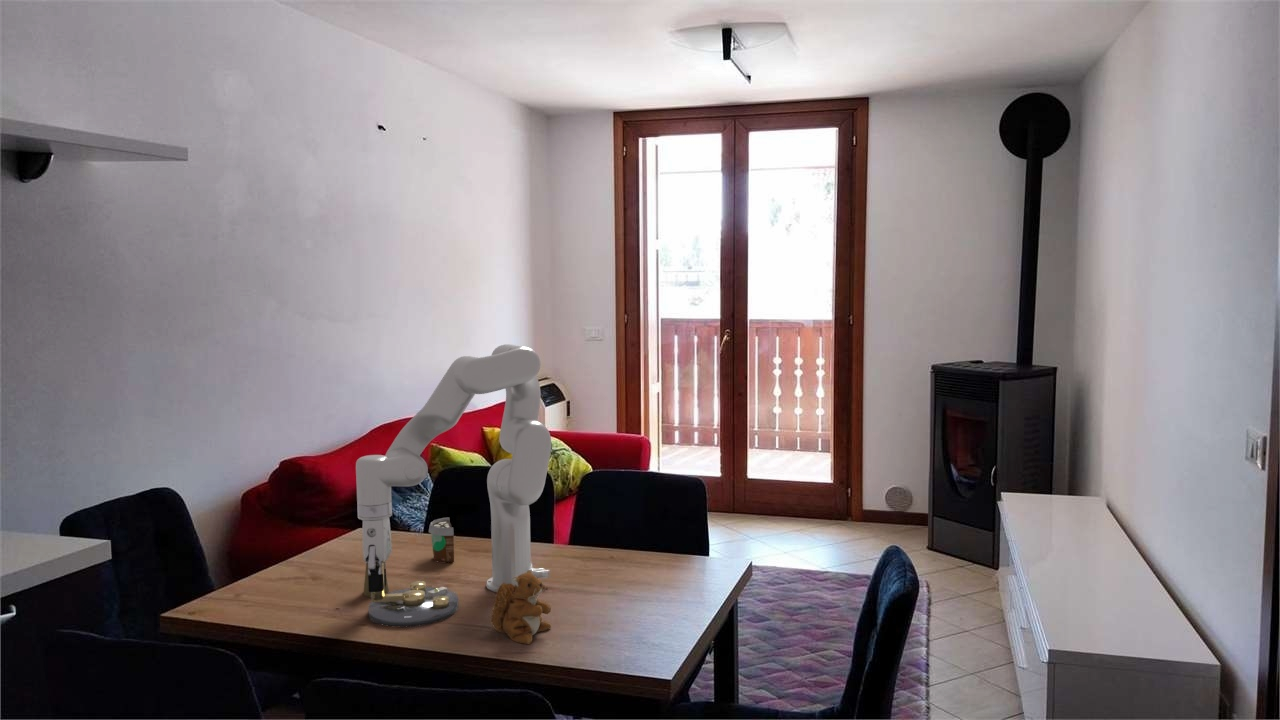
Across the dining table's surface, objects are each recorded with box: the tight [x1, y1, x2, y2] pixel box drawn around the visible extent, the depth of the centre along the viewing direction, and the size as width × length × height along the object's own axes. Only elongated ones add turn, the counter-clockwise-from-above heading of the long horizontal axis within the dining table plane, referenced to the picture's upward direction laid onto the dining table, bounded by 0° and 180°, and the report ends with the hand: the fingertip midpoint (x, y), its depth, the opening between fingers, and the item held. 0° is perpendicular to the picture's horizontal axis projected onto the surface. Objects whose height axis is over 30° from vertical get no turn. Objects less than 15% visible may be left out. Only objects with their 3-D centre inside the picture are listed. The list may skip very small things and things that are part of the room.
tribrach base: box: [368, 580, 459, 628], centre depth 204 cm, size 20×20×4 cm
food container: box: [428, 517, 455, 564], centre depth 242 cm, size 12×6×10 cm, turn 17°
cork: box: [363, 559, 390, 598], centre depth 216 cm, size 6×6×11 cm
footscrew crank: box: [370, 562, 425, 605], centre depth 203 cm, size 12×5×9 cm, turn 97°
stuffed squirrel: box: [489, 571, 552, 645], centre depth 190 cm, size 10×14×13 cm
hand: (377, 587), depth 203 cm, fingers closed on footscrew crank, 3 cm apart
